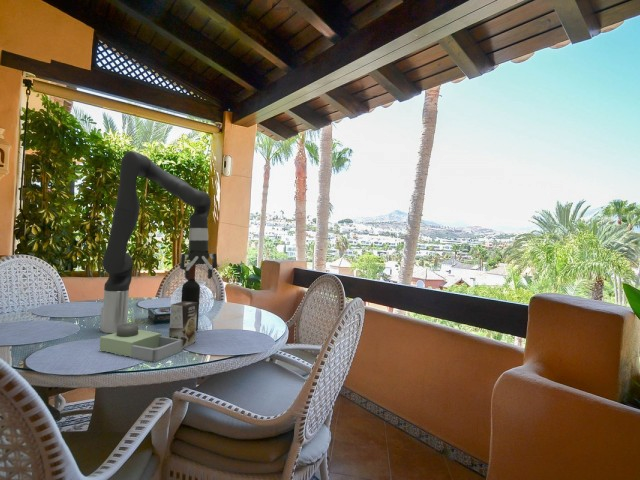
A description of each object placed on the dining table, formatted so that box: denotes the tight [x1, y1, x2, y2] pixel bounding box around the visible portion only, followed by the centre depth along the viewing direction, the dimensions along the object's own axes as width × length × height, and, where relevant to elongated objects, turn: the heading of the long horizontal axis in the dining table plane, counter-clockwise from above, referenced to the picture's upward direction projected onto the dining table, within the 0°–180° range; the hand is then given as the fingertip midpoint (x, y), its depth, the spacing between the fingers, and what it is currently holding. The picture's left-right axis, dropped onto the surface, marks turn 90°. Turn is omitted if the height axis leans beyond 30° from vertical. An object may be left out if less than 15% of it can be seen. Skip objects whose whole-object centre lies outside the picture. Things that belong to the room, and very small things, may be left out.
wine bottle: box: [180, 262, 201, 332], centre depth 165 cm, size 8×8×30 cm
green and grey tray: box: [99, 323, 184, 363], centre depth 134 cm, size 24×14×8 cm, turn 71°
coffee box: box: [168, 301, 198, 349], centre depth 145 cm, size 9×6×16 cm
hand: (198, 279), depth 153 cm, fingers open, 8 cm apart
